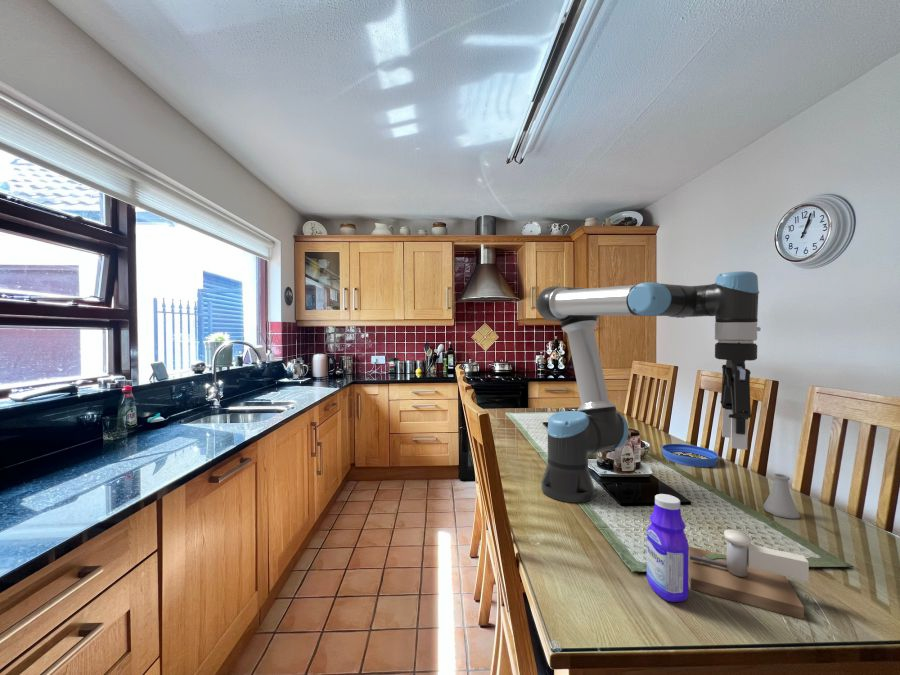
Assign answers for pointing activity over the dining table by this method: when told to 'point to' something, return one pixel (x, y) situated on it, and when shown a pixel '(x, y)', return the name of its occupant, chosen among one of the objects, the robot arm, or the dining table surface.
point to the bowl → (688, 459)
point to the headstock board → (743, 585)
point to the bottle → (667, 550)
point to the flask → (781, 499)
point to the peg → (758, 558)
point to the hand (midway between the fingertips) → (733, 442)
